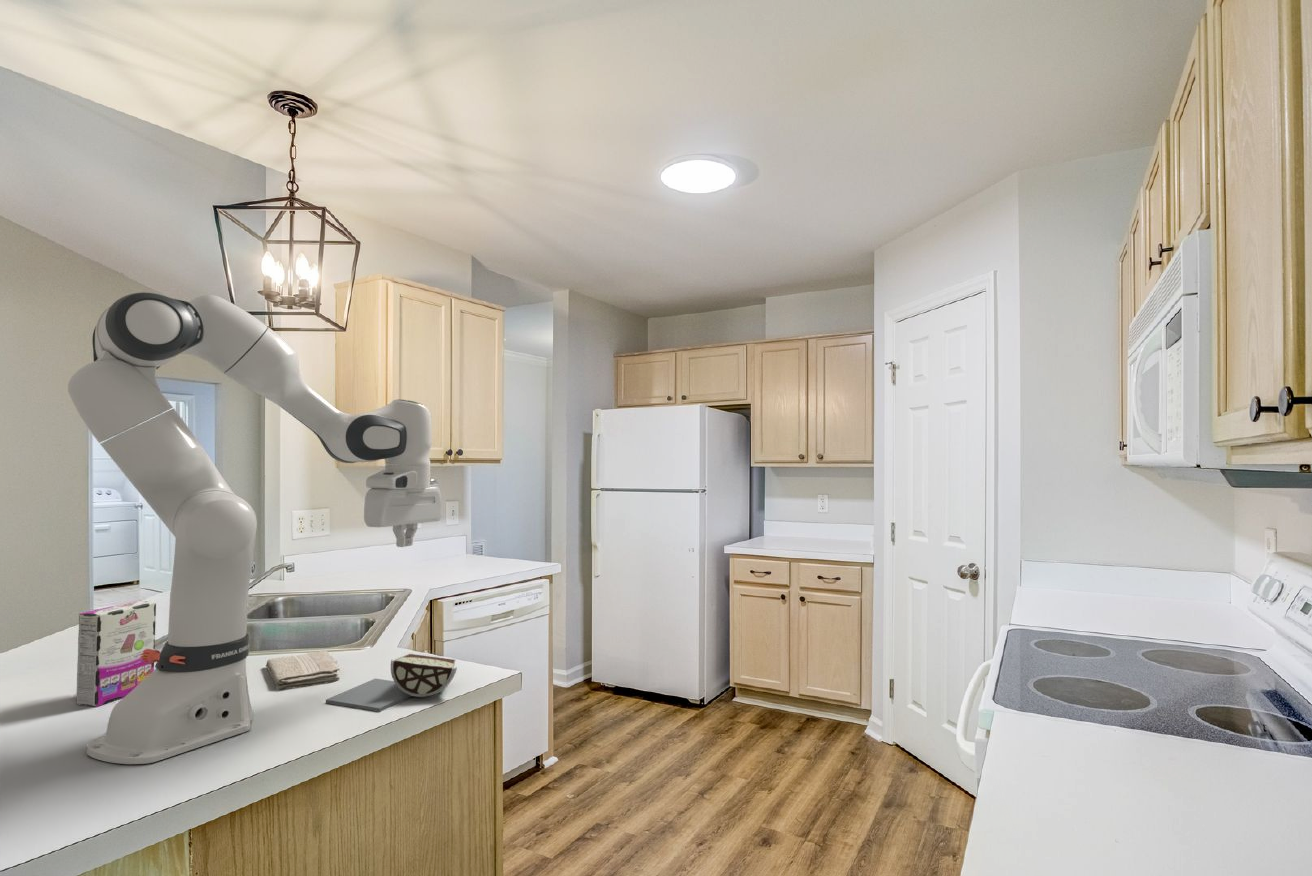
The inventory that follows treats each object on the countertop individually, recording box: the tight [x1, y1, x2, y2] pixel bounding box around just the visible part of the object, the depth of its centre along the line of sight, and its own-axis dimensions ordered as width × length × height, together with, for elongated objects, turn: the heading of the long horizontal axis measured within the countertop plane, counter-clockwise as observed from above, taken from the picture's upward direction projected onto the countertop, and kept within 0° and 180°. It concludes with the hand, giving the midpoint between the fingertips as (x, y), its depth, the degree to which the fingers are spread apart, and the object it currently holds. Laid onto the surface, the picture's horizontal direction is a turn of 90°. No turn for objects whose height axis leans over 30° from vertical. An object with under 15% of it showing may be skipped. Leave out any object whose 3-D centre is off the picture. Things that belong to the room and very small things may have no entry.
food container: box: [390, 653, 458, 698], centre depth 131 cm, size 12×6×10 cm
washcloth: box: [265, 650, 341, 691], centre depth 140 cm, size 12×18×3 cm, turn 37°
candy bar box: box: [75, 600, 157, 708], centre depth 125 cm, size 11×5×16 cm, turn 168°
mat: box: [325, 678, 412, 712], centre depth 128 cm, size 13×12×1 cm
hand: (404, 546), depth 138 cm, fingers closed
